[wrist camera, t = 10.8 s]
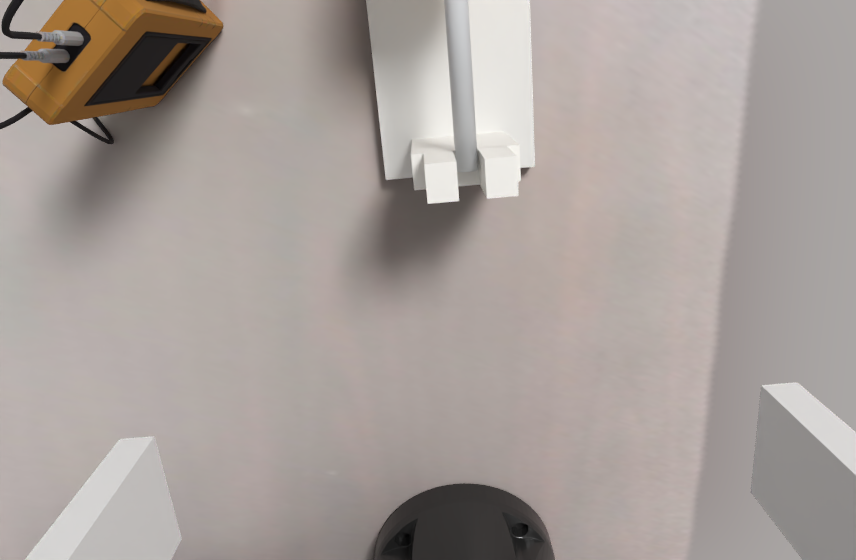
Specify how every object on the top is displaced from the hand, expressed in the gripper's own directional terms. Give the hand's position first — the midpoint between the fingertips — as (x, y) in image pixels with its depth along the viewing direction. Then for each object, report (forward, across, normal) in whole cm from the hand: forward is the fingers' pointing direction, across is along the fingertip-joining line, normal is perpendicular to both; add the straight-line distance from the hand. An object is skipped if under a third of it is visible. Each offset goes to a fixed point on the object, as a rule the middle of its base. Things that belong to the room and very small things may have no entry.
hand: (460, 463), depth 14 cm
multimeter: (+32, +18, -13) cm, 39 cm away
